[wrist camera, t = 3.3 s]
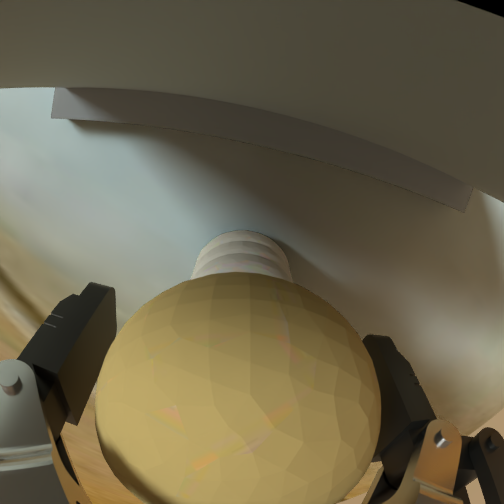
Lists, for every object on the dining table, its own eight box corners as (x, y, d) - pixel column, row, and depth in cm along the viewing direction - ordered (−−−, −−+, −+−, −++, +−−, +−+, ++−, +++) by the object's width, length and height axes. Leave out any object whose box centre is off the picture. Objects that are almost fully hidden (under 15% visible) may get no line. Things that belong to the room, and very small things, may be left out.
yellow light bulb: (345, 278, 13) (439, 498, 4) (231, 345, 14) (222, 550, 5) (258, 156, 11) (310, 418, 2) (136, 253, 12) (16, 472, 3)
